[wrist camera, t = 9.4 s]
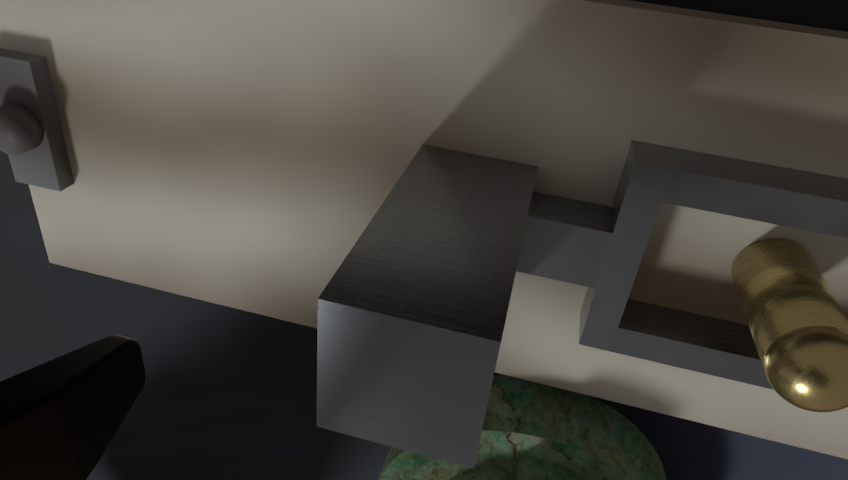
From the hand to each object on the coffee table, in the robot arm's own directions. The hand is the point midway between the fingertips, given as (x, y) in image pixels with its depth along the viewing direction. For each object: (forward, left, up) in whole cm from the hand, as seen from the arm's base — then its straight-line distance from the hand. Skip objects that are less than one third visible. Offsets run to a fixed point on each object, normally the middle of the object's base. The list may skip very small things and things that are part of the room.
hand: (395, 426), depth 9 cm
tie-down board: (0, +1, -9) cm, 9 cm away
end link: (0, -5, -8) cm, 9 cm away
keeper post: (0, -7, -8) cm, 11 cm away
